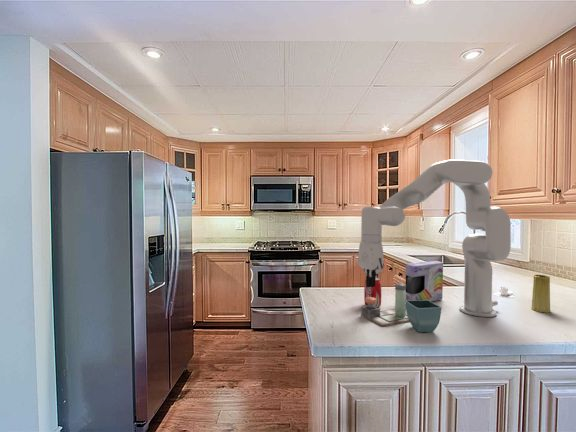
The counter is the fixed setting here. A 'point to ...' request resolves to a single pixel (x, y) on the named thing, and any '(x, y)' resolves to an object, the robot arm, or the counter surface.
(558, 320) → the counter surface
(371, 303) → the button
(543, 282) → the vase
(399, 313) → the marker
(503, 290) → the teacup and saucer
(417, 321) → the flower pot
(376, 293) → the soda can
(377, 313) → the brown flat frame
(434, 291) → the cake pan box
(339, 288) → the counter surface
